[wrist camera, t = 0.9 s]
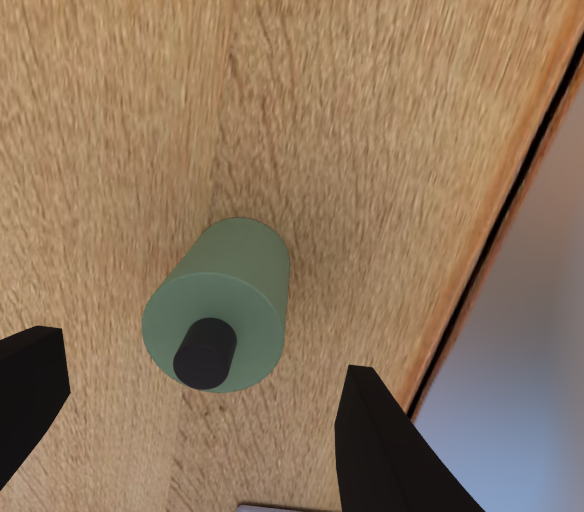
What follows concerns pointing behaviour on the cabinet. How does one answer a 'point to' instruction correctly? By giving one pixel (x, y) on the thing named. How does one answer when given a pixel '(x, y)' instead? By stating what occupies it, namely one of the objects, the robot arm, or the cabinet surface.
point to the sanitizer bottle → (222, 309)
